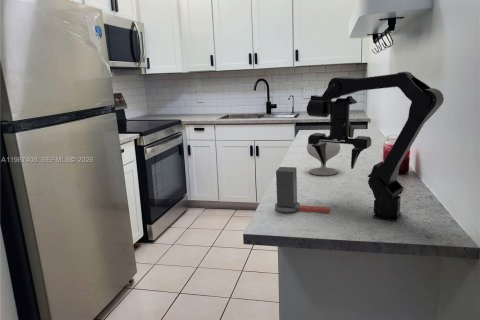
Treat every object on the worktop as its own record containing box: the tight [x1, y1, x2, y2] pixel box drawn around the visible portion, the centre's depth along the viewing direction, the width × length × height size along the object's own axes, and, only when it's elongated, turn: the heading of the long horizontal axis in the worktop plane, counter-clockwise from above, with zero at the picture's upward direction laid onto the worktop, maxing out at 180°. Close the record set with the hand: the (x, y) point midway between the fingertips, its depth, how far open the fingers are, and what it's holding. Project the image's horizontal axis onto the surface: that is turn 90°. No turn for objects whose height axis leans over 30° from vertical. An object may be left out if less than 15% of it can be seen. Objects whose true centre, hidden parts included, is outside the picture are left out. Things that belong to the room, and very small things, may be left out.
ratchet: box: [274, 201, 331, 215], centre depth 117 cm, size 18×8×4 cm, turn 70°
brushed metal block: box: [275, 166, 298, 208], centre depth 118 cm, size 5×5×12 cm
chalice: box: [306, 135, 341, 176], centre depth 158 cm, size 14×14×15 cm
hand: (338, 166), depth 117 cm, fingers open, 9 cm apart
